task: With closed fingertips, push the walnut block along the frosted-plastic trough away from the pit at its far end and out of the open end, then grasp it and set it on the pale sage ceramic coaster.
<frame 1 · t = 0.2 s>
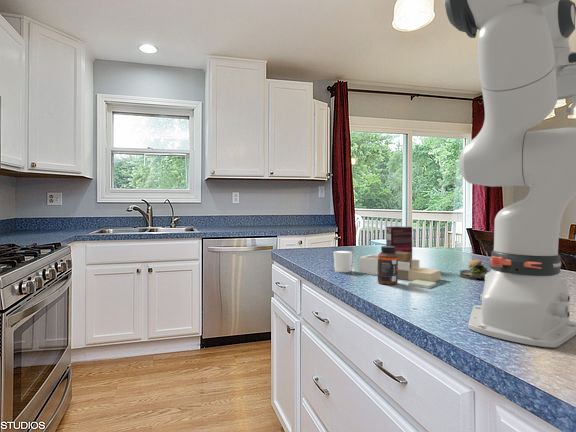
hand: (547, 117, 94), 48 cm above the worktop, tool pointing down, fingers open, 8 cm apart
walnut block: (400, 267, 118), point 3 cm above the worktop, touching trough
white cylinder: (342, 271, 127), on the worktop
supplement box: (398, 268, 134), on the worktop
burger: (478, 278, 118), on the worktop
trough: (398, 275, 119), on the worktop
coaster: (422, 285, 105), on the worktop
supplement bottle: (387, 283, 107), on the worktop
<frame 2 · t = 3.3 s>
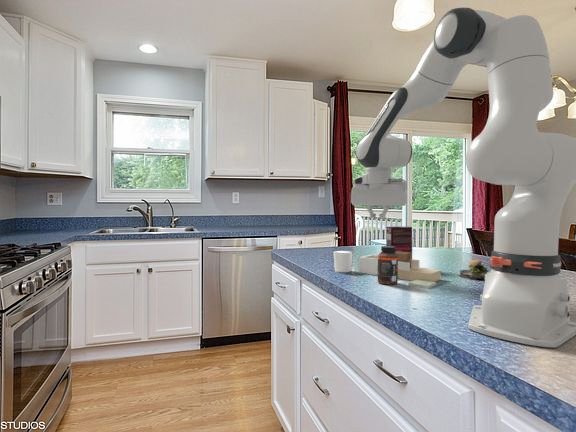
hand: (377, 218, 124), 19 cm above the worktop, tool pointing down, fingers closed
nothing on the worktop moved.
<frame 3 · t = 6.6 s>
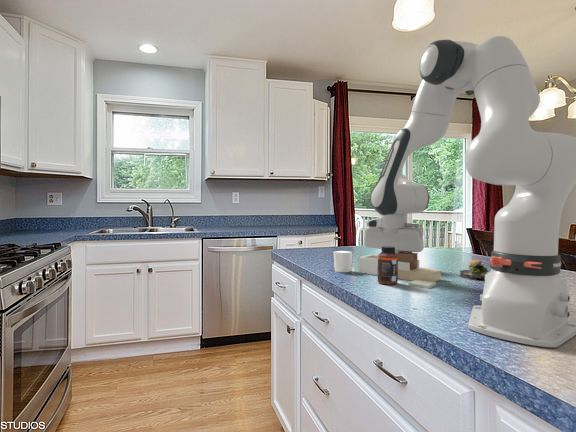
hand: (392, 263, 120), 4 cm above the worktop, tool pointing down, fingers closed
walnut block: (406, 268, 117), point 3 cm above the worktop, touching gripper
everything else where it was.
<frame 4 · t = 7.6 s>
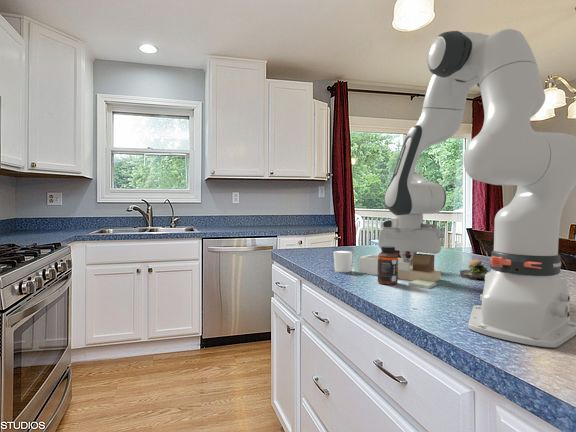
hand: (407, 264, 116), 4 cm above the worktop, tool pointing down, fingers closed
walnut block: (423, 270, 113), point 3 cm above the worktop, touching gripper, trough
everything else where it was.
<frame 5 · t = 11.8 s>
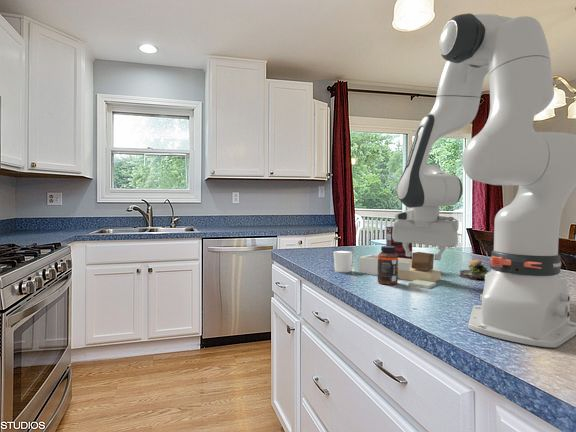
hand: (422, 258, 113), 7 cm above the worktop, tool pointing down, fingers open, 8 cm apart
walnut block: (422, 268, 113), point 3 cm above the worktop
everything else where it was.
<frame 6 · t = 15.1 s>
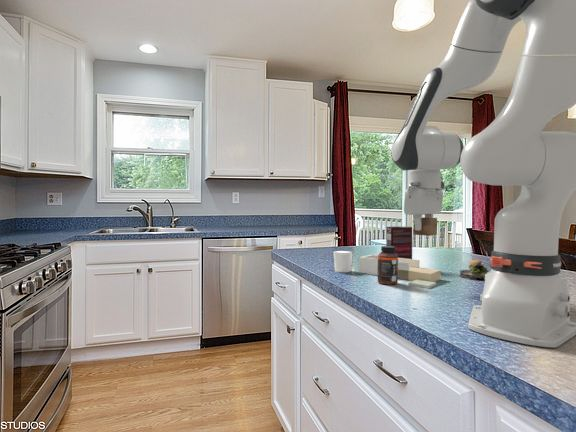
hand: (423, 229, 104), 17 cm above the worktop, tool pointing down, fingers closed on walnut block, 5 cm apart
walnut block: (425, 234, 104), point 15 cm above the worktop, touching gripper
everything else where it was.
when the fingers open (4 cm above the worktop, at t = 17.6 s): walnut block drops 2 cm, resting on coaster.
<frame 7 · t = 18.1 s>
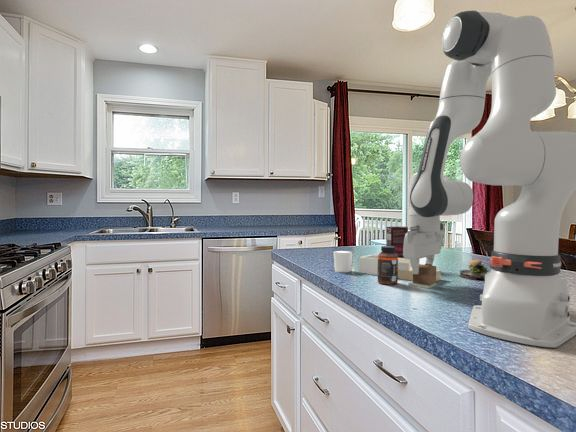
hand: (422, 271, 105), 4 cm above the worktop, tool pointing down, fingers open, 8 cm apart
walnut block: (424, 282, 104), point 1 cm above the worktop, touching coaster
everything else where it was.
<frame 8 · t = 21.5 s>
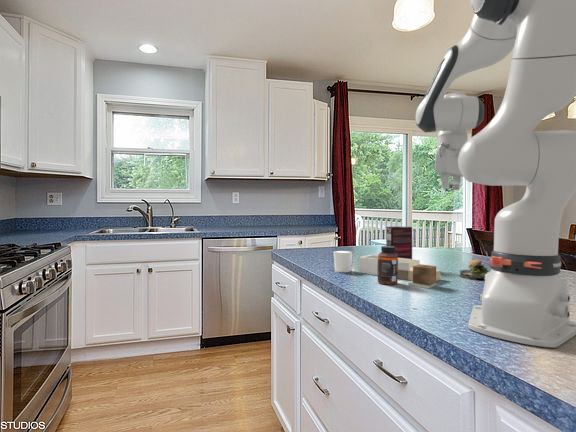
hand: (451, 189, 113), 29 cm above the worktop, tool pointing down, fingers open, 8 cm apart
nothing on the worktop moved.
at the end: walnut block 0.7 cm from the coaster (horizontally); walnut block point 0.8 cm above the worktop; walnut block tilted 0° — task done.
